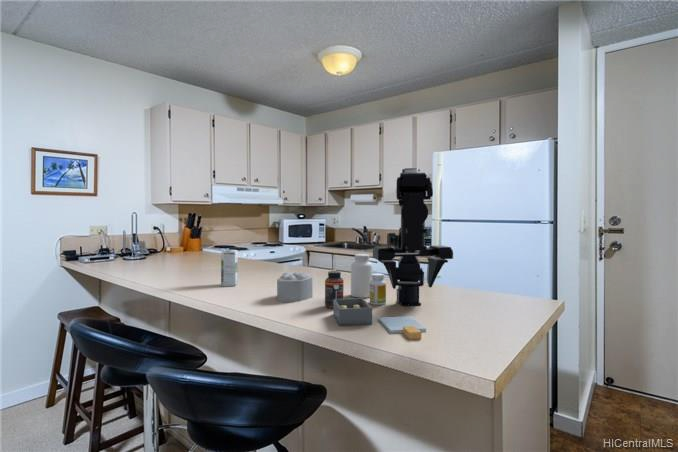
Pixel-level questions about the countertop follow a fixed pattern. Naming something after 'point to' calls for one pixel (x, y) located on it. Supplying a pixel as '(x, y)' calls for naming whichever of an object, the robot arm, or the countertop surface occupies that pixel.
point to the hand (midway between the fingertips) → (412, 287)
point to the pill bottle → (361, 276)
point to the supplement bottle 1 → (333, 288)
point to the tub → (352, 312)
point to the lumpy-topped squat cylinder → (294, 287)
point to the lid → (403, 326)
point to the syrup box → (229, 268)
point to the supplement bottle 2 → (377, 289)
